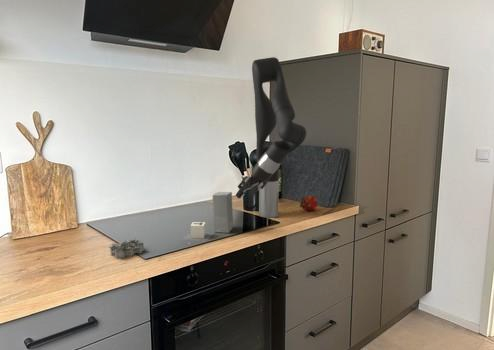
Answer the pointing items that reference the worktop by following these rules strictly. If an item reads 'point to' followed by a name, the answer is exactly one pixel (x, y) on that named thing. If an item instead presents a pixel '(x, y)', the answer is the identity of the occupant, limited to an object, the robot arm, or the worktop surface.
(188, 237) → the reading mat
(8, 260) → the worktop surface
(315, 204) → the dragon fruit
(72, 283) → the worktop surface
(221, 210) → the skincare box
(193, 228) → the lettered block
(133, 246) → the grey lumpy piece
